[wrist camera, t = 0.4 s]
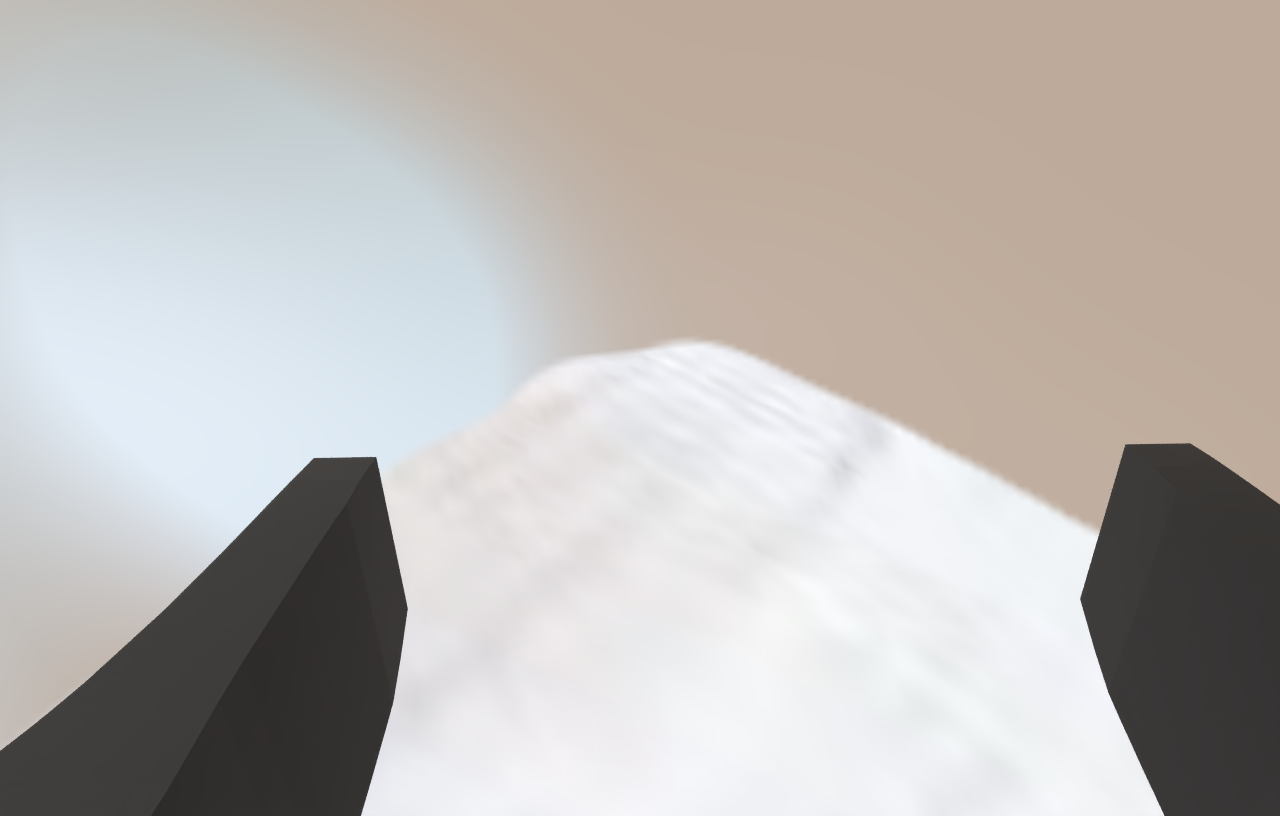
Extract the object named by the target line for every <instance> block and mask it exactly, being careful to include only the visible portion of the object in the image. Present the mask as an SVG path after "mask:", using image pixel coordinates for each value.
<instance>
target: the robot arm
mask: <svg viewBox="0 0 1280 816" xmlns="http://www.w3.org/2000/svg"><path fill="white" fill-rule="evenodd" d="M1080 600H1081V604H1082V607H1083V611H1084V614H1085V618H1086V621H1087V625H1088V628H1089V632H1090V635H1091V639H1092V642H1093V646H1094V649H1095V652H1096V655H1097V658H1098V662H1099V665H1100V668H1101V671H1102V674H1103V677H1104V680H1105V683H1106V686H1107V690H1108V693H1109V695H1110V697H1111V700H1112V702H1113V704H1114V706H1115V709H1116V711H1117V713H1118V715H1119V718H1120V720H1121V722H1122V724H1123V727H1124V729H1125V731H1126V733H1127V735H1128V738H1129V740H1130V742H1131V744H1132V746H1133V749H1134V751H1135V753H1136V755H1137V757H1138V760H1139V762H1140V764H1141V766H1142V768H1143V771H1144V773H1145V775H1146V777H1147V779H1148V781H1149V783H1150V786H1151V788H1152V790H1153V792H1154V794H1155V796H1156V798H1157V801H1158V803H1159V805H1160V807H1161V809H1162V811H1163V813H1164V816H1280V505H1279V504H1278V503H1277V502H1275V501H1274V500H1272V499H1271V498H1270V497H1268V496H1267V495H1265V494H1264V493H1263V492H1261V491H1260V490H1258V489H1257V488H1255V487H1254V486H1253V485H1251V484H1250V483H1249V482H1247V481H1246V480H1244V479H1243V478H1241V477H1240V476H1239V475H1237V474H1236V473H1234V472H1233V471H1231V470H1230V469H1228V468H1227V467H1226V466H1224V465H1223V464H1221V463H1220V462H1218V461H1217V460H1215V459H1214V458H1212V457H1211V456H1209V455H1208V454H1206V453H1204V452H1203V451H1201V450H1200V449H1198V448H1196V447H1195V446H1193V445H1192V444H1190V443H1189V444H1134V445H1133V444H1128V445H1125V448H1124V451H1123V455H1122V459H1121V462H1120V465H1119V468H1118V472H1117V476H1116V479H1115V482H1114V485H1113V489H1112V492H1111V496H1110V499H1109V503H1108V506H1107V509H1106V513H1105V516H1104V520H1103V523H1102V526H1101V530H1100V533H1099V537H1098V540H1097V544H1096V547H1095V550H1094V554H1093V557H1092V561H1091V564H1090V567H1089V571H1088V574H1087V578H1086V581H1085V584H1084V588H1083V591H1082V595H1081V598H1080ZM407 610H408V608H407V603H406V598H405V593H404V588H403V584H402V579H401V574H400V569H399V564H398V559H397V555H396V550H395V545H394V540H393V535H392V531H391V526H390V521H389V516H388V511H387V507H386V502H385V497H384V492H383V487H382V483H381V478H380V473H379V468H378V463H377V459H376V457H352V458H314V459H313V460H312V461H311V462H310V463H309V464H308V465H307V466H306V467H305V468H304V469H303V470H302V471H301V472H300V473H299V474H298V475H297V476H296V477H295V478H294V479H293V480H292V481H291V482H290V483H289V484H288V485H287V486H286V487H285V488H284V489H283V490H282V491H281V492H280V493H279V494H278V495H277V496H276V497H275V498H274V499H273V500H272V501H271V502H270V503H269V504H268V505H267V506H266V508H265V509H264V510H263V511H262V512H261V513H260V514H259V515H258V516H257V517H256V518H255V519H254V520H253V521H252V522H251V523H250V524H249V525H248V526H247V527H246V528H245V529H244V530H243V531H242V533H241V534H240V535H239V536H238V537H237V538H236V539H235V540H234V541H233V542H232V543H231V544H230V545H229V546H228V547H227V548H226V549H225V550H224V551H223V552H222V553H221V554H220V555H219V556H218V557H217V558H216V559H215V560H214V561H213V562H212V563H211V564H210V565H209V566H208V567H207V568H206V569H205V570H204V571H203V572H202V573H201V574H200V575H199V576H198V577H197V578H196V579H195V580H194V581H193V582H192V583H191V584H190V585H189V586H188V587H187V588H186V589H185V590H184V591H183V592H182V593H181V594H180V595H179V596H178V597H177V598H176V599H175V600H174V601H173V602H172V603H171V604H170V605H169V606H168V607H167V608H166V609H165V610H164V611H163V612H162V613H161V614H159V616H157V617H156V618H155V619H154V620H153V621H152V622H151V623H150V624H149V625H147V626H146V627H145V628H144V629H143V630H142V631H141V632H140V633H139V634H138V635H136V636H135V637H134V638H133V639H132V640H131V641H130V642H129V643H128V644H127V645H125V646H124V647H123V648H122V649H121V650H120V651H119V652H118V653H117V654H116V655H115V656H114V657H112V658H111V659H110V660H109V661H108V662H107V663H106V664H105V665H104V666H102V667H101V668H100V669H99V670H98V671H97V672H96V673H95V674H94V675H93V676H91V677H90V678H89V679H88V680H87V681H86V682H85V683H84V684H82V685H81V686H80V687H79V688H78V689H76V690H75V691H74V692H73V693H72V694H71V695H69V696H68V697H67V698H66V699H65V700H64V701H62V702H61V703H60V704H59V705H57V706H56V707H55V708H54V709H53V710H51V711H50V712H49V713H48V714H46V715H45V716H44V717H43V718H42V719H40V720H39V721H38V722H37V723H35V724H34V725H33V726H32V727H30V728H29V729H28V730H27V731H25V732H24V733H23V734H21V735H20V736H19V737H18V738H16V739H15V740H14V741H12V742H11V743H10V744H9V745H7V746H6V747H5V748H3V749H2V750H1V751H0V816H361V814H362V810H363V807H364V803H365V800H366V797H367V793H368V790H369V786H370V783H371V779H372V776H373V772H374V769H375V765H376V762H377V758H378V755H379V751H380V748H381V744H382V741H383V737H384V734H385V730H386V727H387V723H388V719H389V716H390V712H391V708H392V705H393V700H394V694H395V688H396V683H397V677H398V671H399V665H400V658H401V652H402V645H403V638H404V631H405V624H406V617H407Z"/></svg>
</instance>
